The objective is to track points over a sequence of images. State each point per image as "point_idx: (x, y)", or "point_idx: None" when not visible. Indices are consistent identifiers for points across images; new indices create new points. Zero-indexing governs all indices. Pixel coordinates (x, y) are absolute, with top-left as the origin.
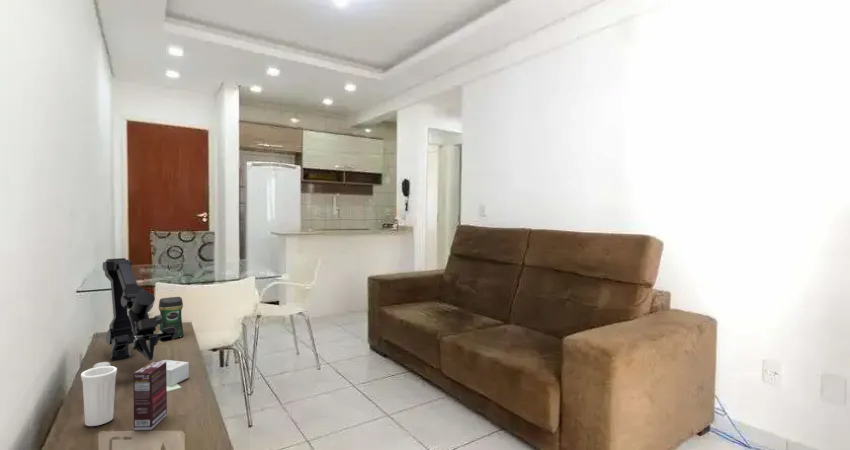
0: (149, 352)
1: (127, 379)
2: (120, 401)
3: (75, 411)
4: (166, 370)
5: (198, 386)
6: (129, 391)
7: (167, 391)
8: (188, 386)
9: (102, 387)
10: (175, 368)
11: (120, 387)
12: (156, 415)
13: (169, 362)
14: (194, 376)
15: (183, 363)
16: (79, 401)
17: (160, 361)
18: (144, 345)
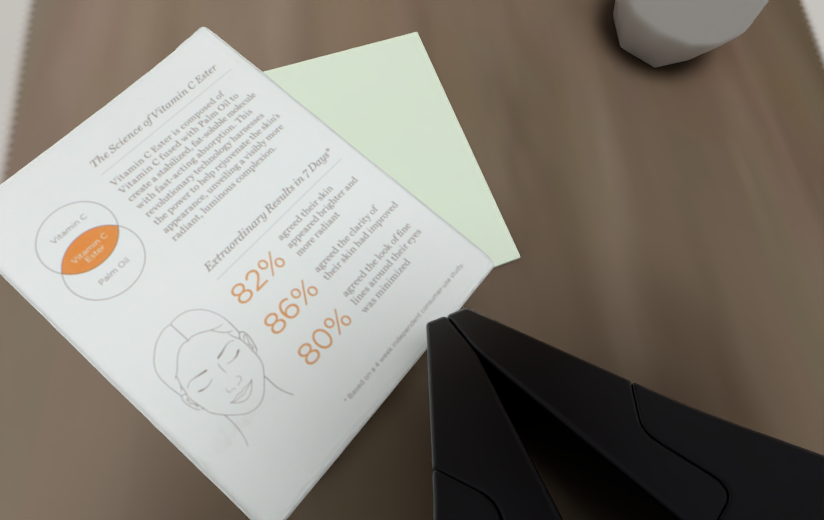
0: (510, 372)
1: None
2: (565, 52)
3: (770, 25)
4: (255, 68)
5: (66, 74)
6: (547, 198)
7: (288, 67)
8: None
9: None
10: (153, 68)
11: (633, 316)
12: None
13: (195, 330)
14: (38, 319)
15: (25, 199)
16: (817, 162)
17: (315, 445)
18: (775, 493)
